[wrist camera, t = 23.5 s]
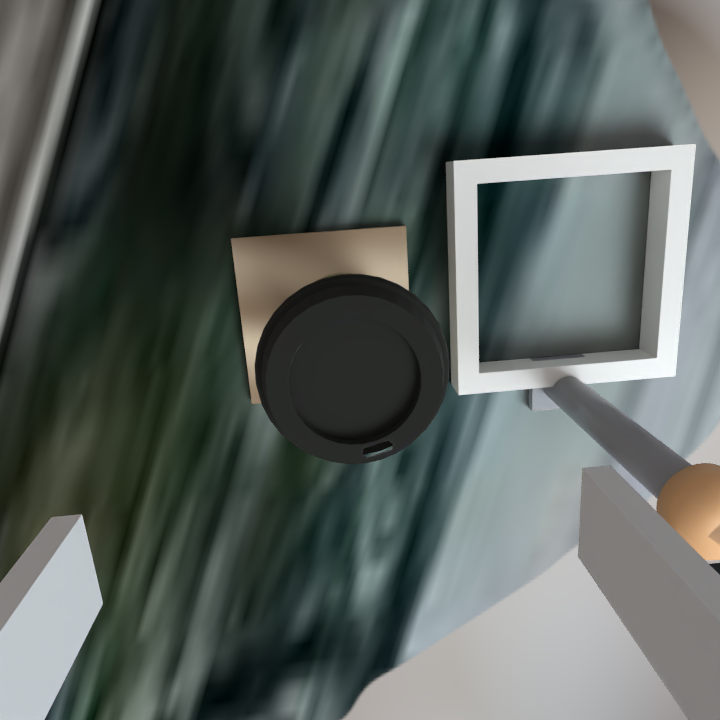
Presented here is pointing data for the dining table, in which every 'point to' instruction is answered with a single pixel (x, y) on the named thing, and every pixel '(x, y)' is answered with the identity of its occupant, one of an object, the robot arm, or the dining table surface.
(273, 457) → the dining table surface
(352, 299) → the coffee cup
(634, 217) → the dining table surface
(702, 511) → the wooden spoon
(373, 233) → the cork pad
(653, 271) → the white square frame
